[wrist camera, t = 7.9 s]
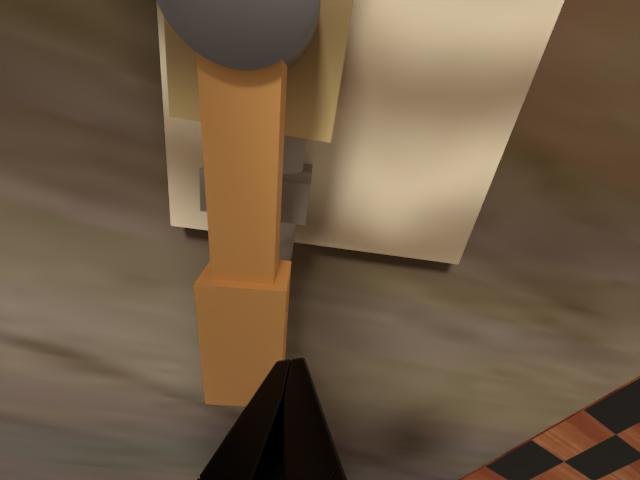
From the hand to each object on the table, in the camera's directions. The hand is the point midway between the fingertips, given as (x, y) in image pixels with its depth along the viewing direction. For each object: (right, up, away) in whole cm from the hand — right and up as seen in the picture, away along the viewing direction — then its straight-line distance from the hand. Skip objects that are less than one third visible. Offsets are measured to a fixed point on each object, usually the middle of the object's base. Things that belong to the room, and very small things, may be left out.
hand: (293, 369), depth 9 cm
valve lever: (-1, +5, 0) cm, 5 cm away
